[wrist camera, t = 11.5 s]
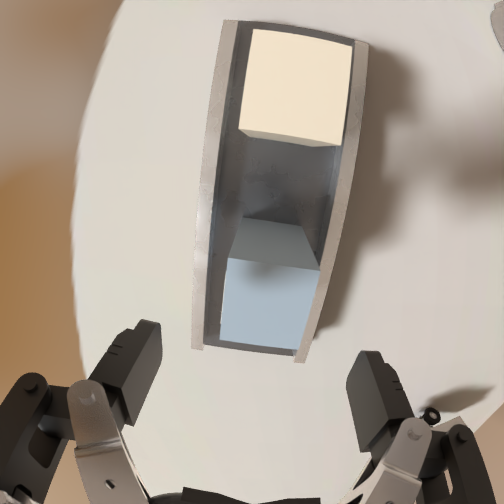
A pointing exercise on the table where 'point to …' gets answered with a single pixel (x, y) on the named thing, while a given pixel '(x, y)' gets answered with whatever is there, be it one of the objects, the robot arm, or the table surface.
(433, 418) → the grey wheeled device
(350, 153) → the tray
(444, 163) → the table surface
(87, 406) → the robot arm
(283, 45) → the block
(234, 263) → the block
